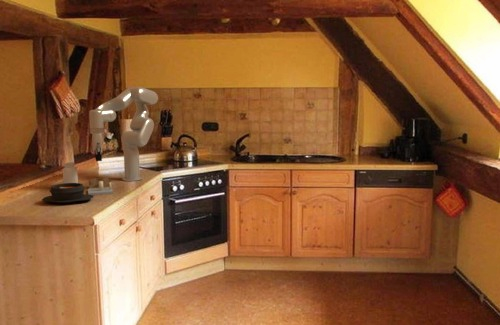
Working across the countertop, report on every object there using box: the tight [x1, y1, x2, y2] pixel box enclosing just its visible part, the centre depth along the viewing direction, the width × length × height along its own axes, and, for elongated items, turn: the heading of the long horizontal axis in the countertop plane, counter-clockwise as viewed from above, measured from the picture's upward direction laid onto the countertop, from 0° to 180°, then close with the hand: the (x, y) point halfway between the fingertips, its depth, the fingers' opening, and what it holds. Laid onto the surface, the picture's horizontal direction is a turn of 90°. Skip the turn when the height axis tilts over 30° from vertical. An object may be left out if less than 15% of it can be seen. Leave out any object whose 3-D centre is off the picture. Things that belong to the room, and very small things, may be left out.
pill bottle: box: [62, 162, 79, 184], centre depth 256 cm, size 8×8×15 cm
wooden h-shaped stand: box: [88, 177, 112, 189], centre depth 258 cm, size 12×6×5 cm, turn 112°
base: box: [87, 181, 114, 196], centre depth 245 cm, size 13×13×6 cm
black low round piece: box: [41, 182, 95, 205], centre depth 223 cm, size 25×19×8 cm
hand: (98, 160), depth 256 cm, fingers open, 9 cm apart
